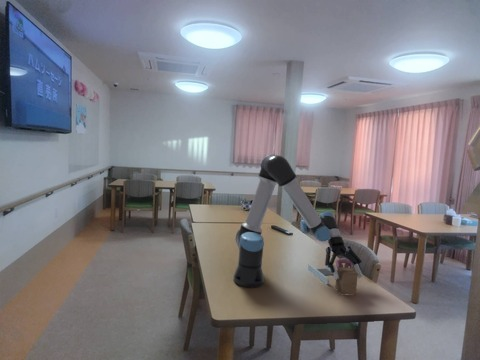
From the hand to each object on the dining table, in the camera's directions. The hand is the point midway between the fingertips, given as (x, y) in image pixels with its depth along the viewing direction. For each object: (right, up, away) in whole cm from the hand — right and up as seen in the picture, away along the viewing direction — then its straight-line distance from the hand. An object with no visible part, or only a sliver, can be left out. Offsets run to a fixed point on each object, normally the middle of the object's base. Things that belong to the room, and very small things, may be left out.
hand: (349, 278), depth 151 cm
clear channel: (-6, -4, +17) cm, 18 cm away
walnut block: (-2, -6, -1) cm, 7 cm away
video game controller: (+8, -4, +30) cm, 31 cm away
